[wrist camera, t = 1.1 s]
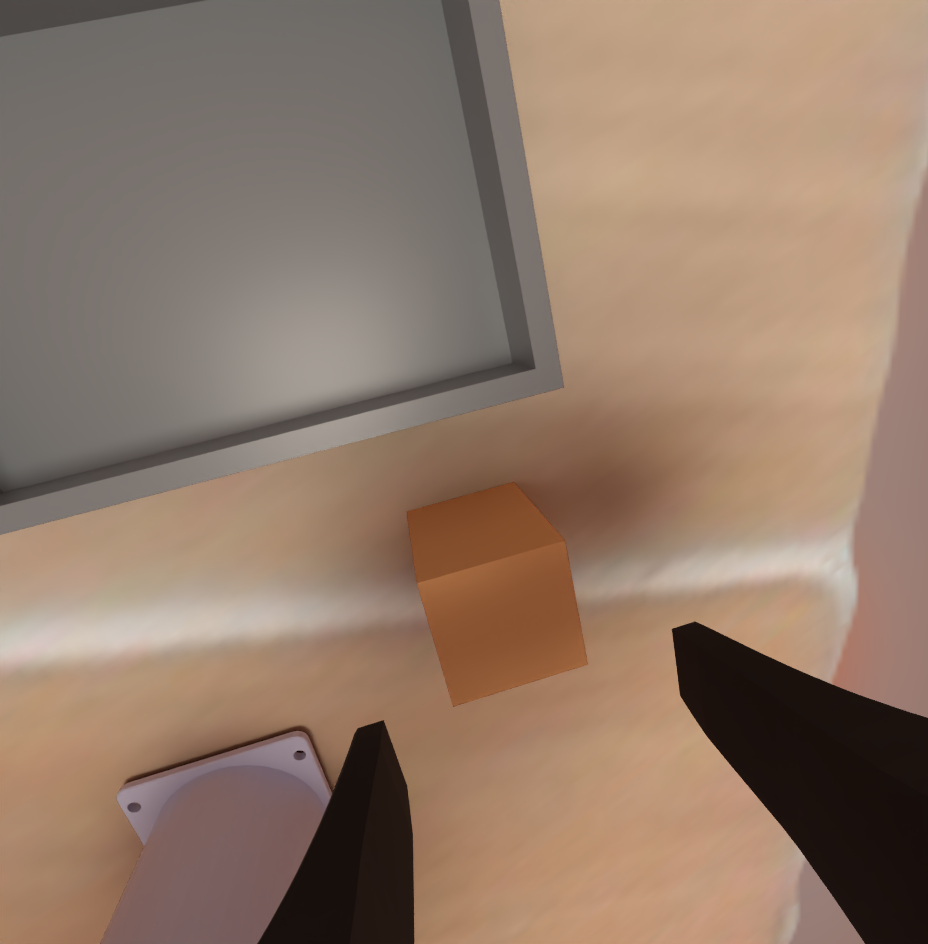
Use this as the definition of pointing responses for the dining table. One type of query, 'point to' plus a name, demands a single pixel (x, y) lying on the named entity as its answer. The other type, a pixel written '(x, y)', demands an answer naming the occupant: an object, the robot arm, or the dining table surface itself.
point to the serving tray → (253, 237)
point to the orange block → (495, 592)
